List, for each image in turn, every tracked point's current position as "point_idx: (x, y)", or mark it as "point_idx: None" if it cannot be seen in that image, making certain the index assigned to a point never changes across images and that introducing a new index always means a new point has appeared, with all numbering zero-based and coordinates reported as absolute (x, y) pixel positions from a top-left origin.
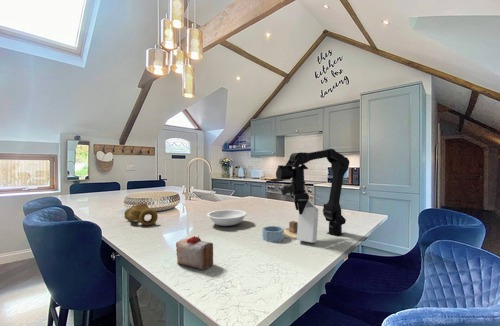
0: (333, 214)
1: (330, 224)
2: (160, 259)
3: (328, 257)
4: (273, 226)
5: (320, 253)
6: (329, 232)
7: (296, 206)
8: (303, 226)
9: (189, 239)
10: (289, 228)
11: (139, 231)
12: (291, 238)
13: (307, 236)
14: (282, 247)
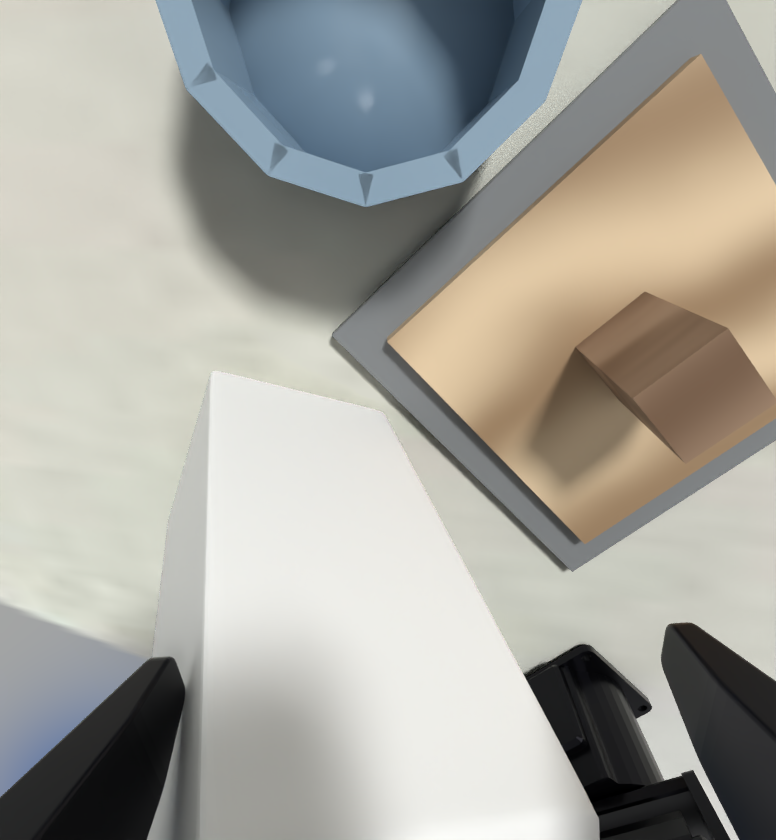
0: None
1: (582, 767)
2: None
3: (10, 569)
4: None
5: (70, 530)
6: (552, 681)
7: (724, 720)
8: (183, 543)
9: None
10: (663, 303)
11: None
12: (398, 306)
13: (178, 509)
14: (96, 178)
